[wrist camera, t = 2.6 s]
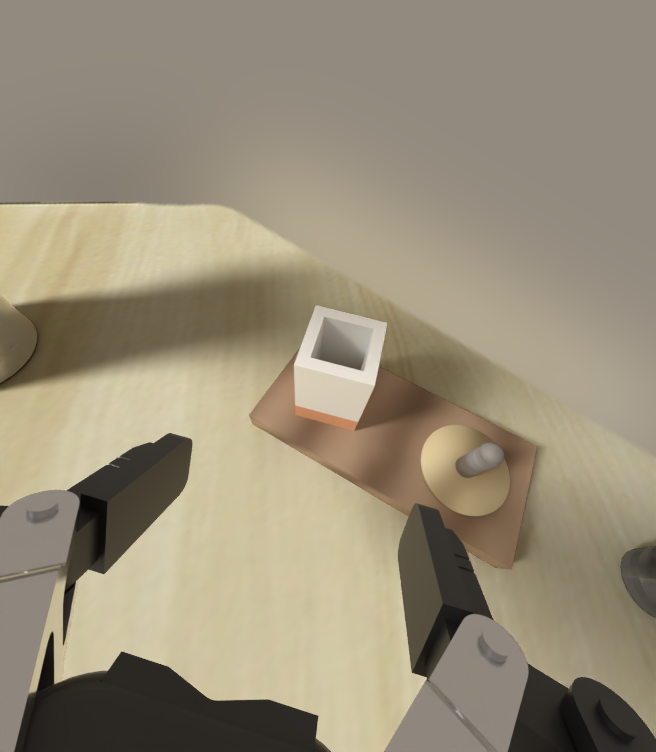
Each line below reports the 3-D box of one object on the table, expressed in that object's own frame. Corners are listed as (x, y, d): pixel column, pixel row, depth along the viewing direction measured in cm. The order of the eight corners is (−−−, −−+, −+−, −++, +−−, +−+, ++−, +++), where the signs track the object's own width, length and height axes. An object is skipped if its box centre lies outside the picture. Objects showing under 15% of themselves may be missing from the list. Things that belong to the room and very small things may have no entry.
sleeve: (354, 430, 25) (374, 385, 18) (295, 415, 26) (293, 364, 19) (365, 379, 28) (387, 322, 21) (311, 365, 28) (315, 304, 21)
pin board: (252, 423, 27) (239, 388, 21) (311, 344, 32) (313, 297, 26) (495, 567, 23) (563, 574, 17) (522, 452, 28) (582, 426, 22)
